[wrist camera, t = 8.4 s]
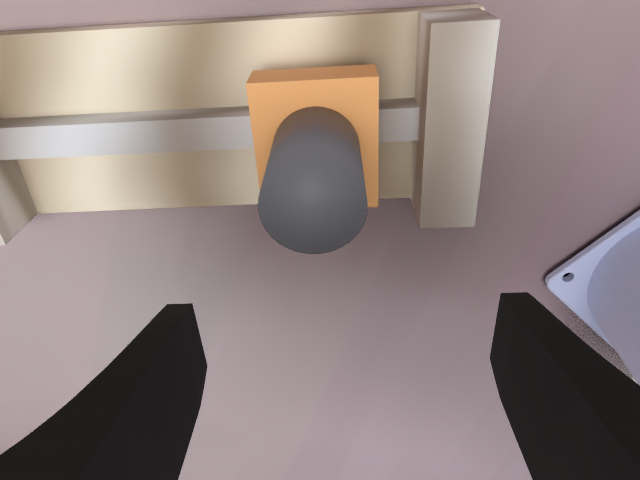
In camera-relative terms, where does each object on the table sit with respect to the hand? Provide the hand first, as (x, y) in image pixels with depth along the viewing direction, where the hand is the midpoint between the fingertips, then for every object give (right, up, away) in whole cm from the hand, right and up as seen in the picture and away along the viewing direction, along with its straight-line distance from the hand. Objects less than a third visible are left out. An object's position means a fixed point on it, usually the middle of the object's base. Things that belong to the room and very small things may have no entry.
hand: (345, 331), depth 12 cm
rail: (-5, +7, +8) cm, 12 cm away
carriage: (-1, +7, +7) cm, 9 cm away
